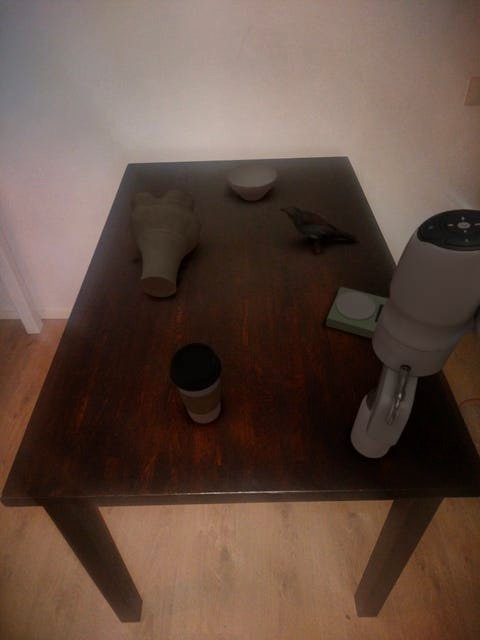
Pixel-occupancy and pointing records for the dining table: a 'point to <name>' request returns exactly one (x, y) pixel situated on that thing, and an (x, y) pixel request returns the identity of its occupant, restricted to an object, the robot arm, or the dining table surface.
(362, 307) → the scale
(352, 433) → the can
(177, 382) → the coffee cup
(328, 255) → the dining table surface
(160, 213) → the vase
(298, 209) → the bird figurine
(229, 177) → the bowl
